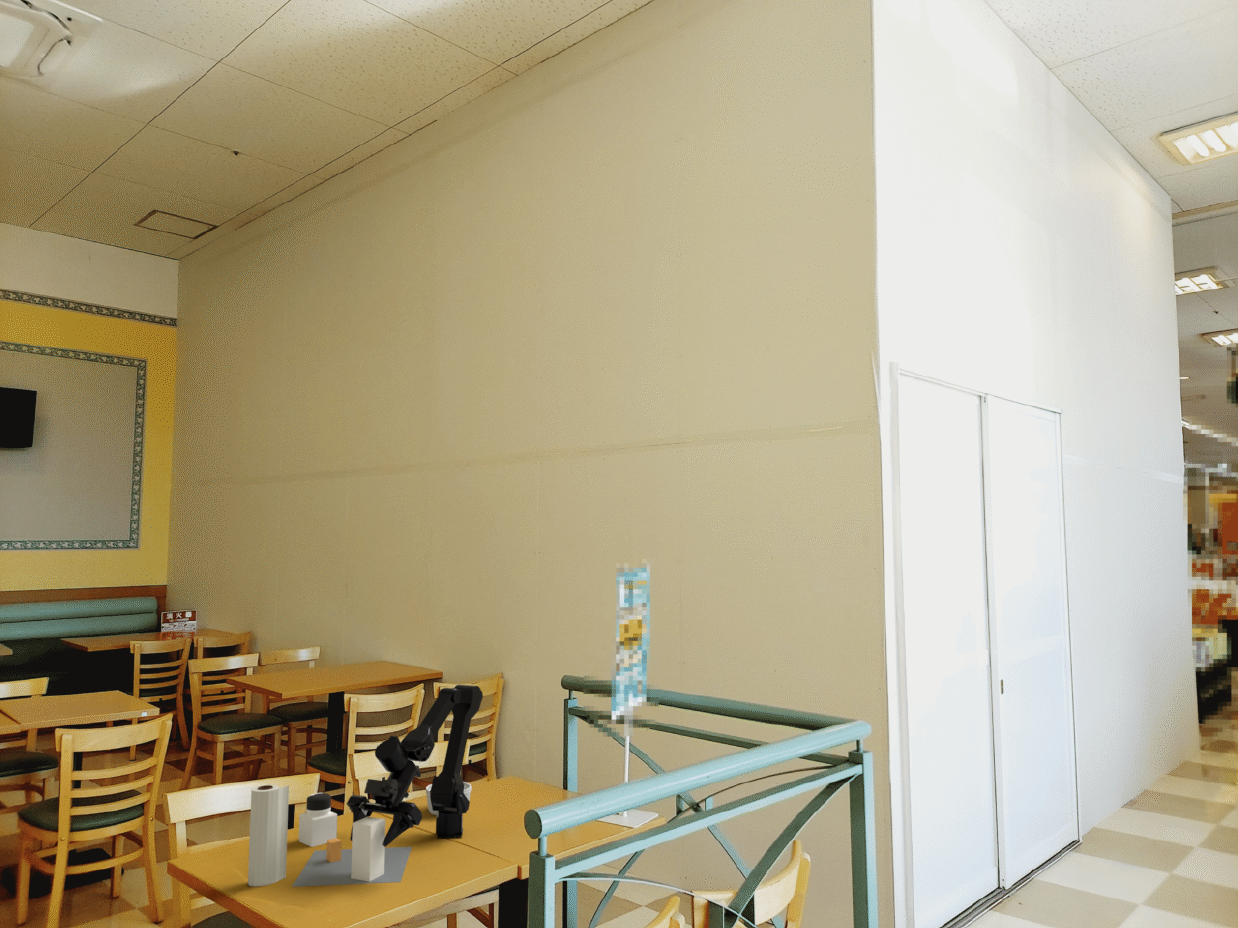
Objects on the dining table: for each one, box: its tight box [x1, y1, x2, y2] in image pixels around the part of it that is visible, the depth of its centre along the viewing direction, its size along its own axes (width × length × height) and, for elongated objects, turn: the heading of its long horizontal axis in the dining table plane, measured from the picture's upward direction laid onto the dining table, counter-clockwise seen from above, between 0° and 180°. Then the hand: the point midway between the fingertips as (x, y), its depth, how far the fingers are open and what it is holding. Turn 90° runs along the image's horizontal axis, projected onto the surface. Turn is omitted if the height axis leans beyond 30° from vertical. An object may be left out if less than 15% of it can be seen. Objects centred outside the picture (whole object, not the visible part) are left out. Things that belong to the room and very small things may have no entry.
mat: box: [291, 846, 413, 888], centre depth 213 cm, size 24×24×1 cm
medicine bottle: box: [298, 792, 338, 848], centre depth 232 cm, size 7×7×12 cm
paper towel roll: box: [247, 784, 290, 887], centre depth 204 cm, size 7×6×21 cm
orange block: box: [326, 837, 342, 863], centre depth 217 cm, size 3×3×5 cm
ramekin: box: [425, 781, 473, 816], centre depth 260 cm, size 13×13×7 cm
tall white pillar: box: [351, 816, 386, 882], centre depth 207 cm, size 5×5×12 cm
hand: (367, 843), depth 207 cm, fingers open, 9 cm apart
